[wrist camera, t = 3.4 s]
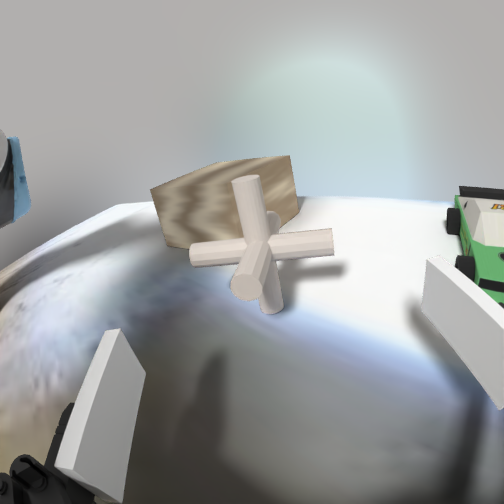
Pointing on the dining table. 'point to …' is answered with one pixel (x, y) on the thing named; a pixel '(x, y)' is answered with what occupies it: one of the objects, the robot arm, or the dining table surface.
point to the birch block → (220, 200)
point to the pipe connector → (259, 248)
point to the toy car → (480, 237)
